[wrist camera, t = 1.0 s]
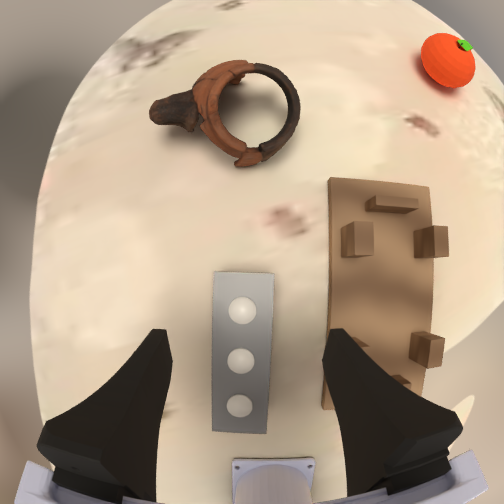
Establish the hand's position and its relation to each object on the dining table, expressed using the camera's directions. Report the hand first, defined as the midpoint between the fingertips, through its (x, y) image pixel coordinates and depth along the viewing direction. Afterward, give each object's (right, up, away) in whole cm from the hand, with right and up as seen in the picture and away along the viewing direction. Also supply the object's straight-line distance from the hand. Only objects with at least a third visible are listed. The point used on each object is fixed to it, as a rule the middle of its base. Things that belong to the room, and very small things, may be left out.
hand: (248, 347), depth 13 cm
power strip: (-1, -4, +12) cm, 12 cm away
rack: (+12, 0, +11) cm, 16 cm away
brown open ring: (-2, +16, +13) cm, 21 cm away
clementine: (+23, +26, +13) cm, 37 cm away
